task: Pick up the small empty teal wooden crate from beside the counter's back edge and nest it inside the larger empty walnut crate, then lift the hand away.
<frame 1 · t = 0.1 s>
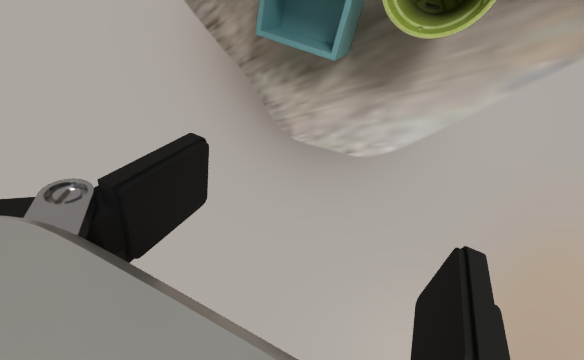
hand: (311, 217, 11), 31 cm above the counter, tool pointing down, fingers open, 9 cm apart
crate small: (318, 13, 36), on the counter
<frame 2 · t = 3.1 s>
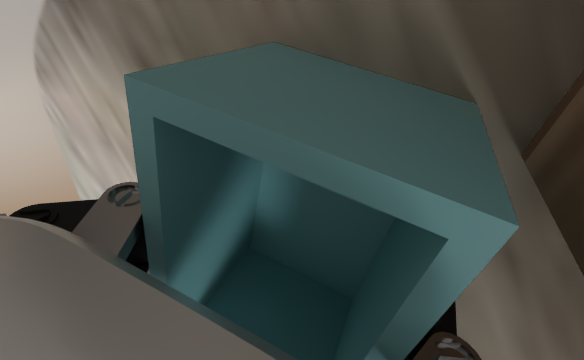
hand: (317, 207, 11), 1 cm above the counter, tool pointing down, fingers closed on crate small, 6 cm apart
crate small: (326, 194, 12), on the counter, touching gripper
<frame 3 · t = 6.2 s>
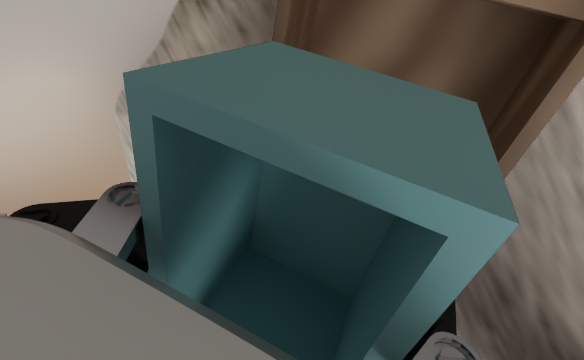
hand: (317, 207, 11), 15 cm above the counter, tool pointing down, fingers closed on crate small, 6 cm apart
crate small: (326, 193, 12), point 14 cm above the counter, touching gripper
crate large: (391, 95, 23), on the counter
when the fingers open (4 cm above the counter, at t = 9.1 s): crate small drops 2 cm, resting on crate large.
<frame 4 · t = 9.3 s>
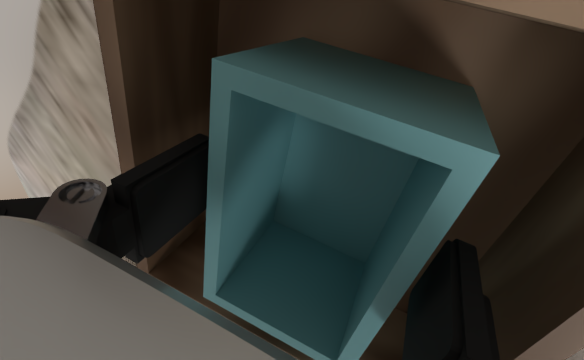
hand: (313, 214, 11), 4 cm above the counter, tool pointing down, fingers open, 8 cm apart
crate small: (344, 169, 14), resting on crate large
crate large: (346, 161, 15), on the counter, touching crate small
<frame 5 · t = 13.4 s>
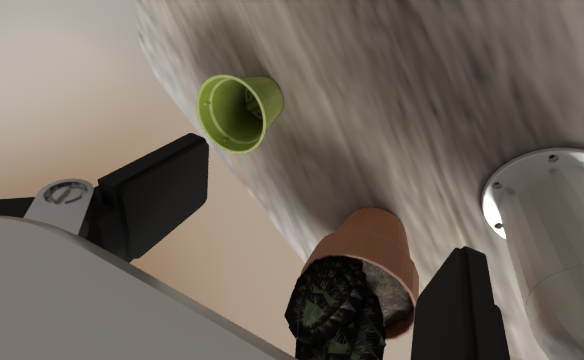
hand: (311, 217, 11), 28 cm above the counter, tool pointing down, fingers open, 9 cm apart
potted plant: (374, 230, 45), on the counter
plant pot: (265, 97, 42), on the counter
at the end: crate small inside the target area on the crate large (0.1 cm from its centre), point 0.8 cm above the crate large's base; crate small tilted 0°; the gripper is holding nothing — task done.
